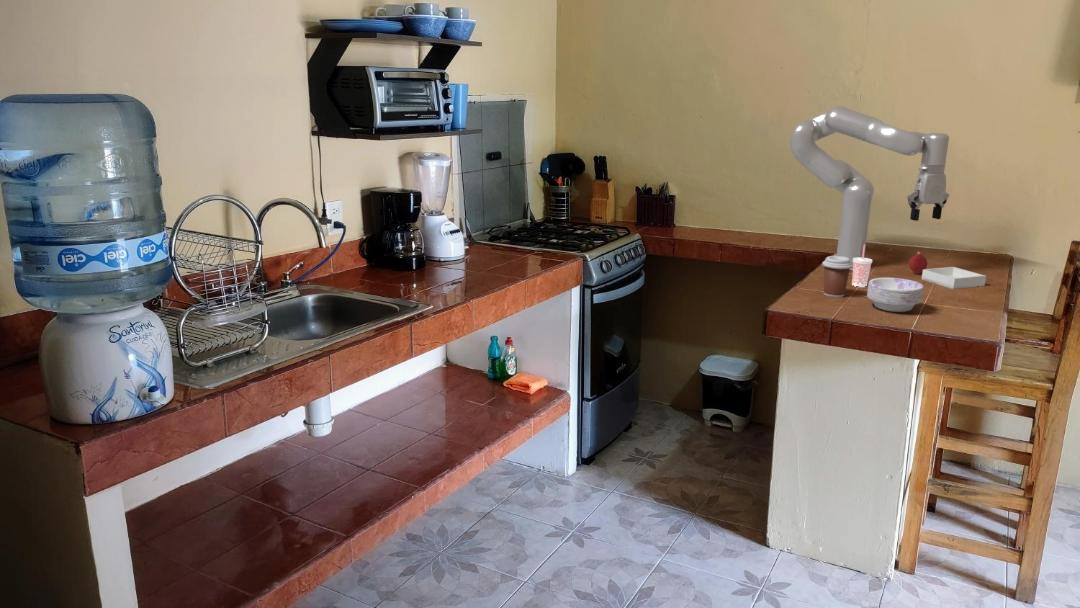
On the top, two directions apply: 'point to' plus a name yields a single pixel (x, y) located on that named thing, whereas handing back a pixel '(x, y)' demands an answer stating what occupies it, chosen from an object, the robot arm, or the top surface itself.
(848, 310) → the top surface
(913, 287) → the paper bowls
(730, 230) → the top surface
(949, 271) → the box
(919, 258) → the onion
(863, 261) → the beverage cup
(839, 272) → the coffee cup
